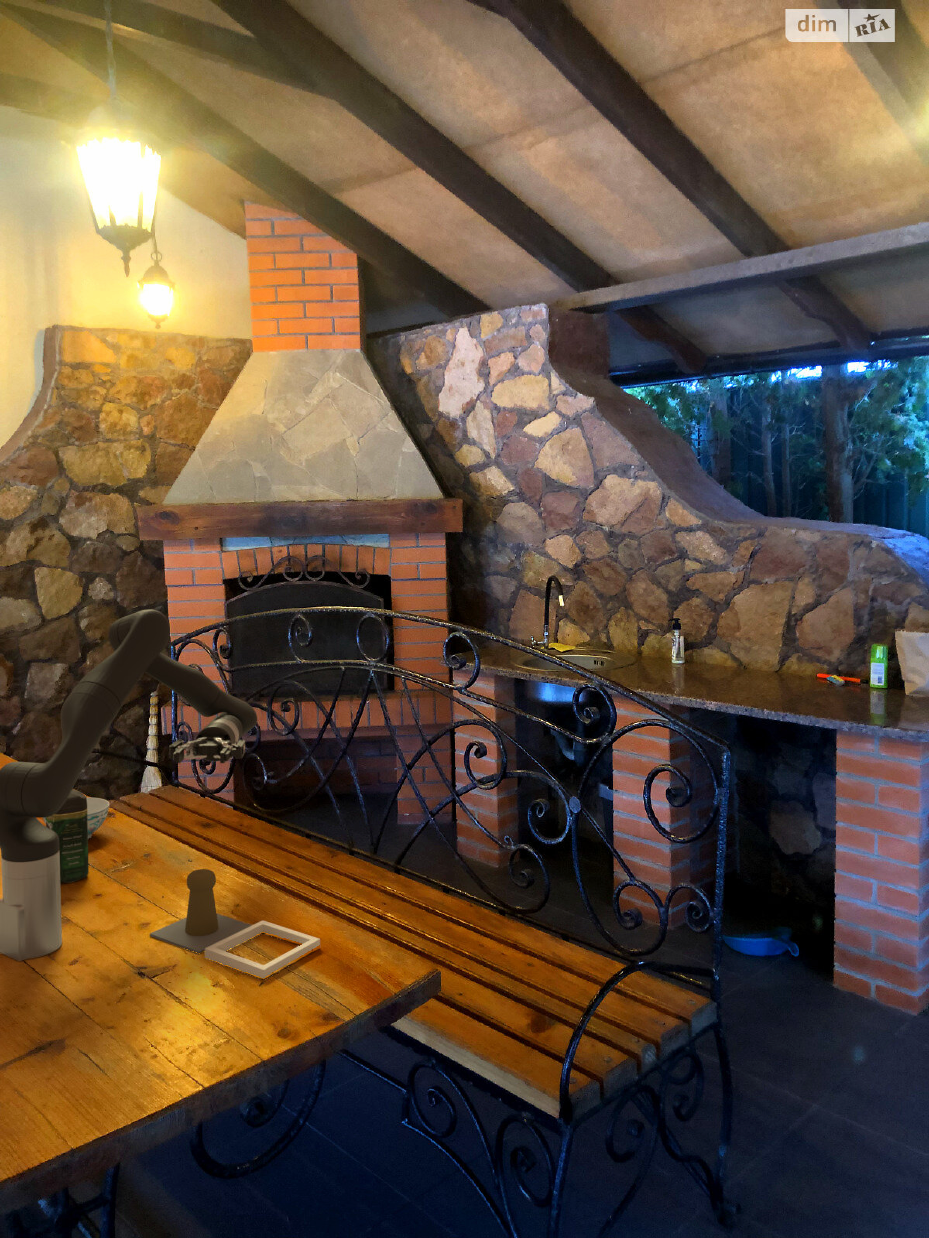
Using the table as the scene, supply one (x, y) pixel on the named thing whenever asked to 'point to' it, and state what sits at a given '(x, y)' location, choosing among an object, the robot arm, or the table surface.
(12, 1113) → the table surface
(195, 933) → the cork
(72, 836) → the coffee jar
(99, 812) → the chinaware
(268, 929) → the white square frame
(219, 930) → the mat
